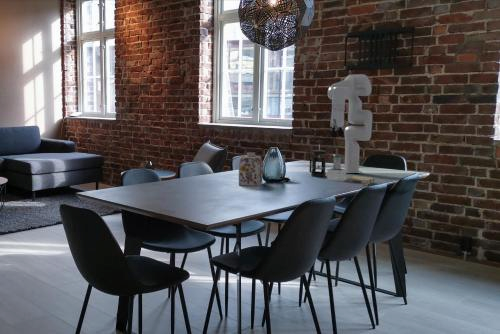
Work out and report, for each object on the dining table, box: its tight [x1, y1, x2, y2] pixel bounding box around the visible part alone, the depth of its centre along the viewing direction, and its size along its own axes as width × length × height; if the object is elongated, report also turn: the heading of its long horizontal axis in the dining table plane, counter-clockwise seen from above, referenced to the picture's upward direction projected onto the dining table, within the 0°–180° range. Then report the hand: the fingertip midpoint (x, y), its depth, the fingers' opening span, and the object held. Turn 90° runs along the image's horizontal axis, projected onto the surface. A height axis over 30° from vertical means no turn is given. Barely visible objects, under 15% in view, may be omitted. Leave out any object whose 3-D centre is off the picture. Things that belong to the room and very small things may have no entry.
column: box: [332, 154, 343, 170], centre depth 305 cm, size 5×5×15 cm
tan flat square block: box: [346, 175, 375, 185], centre depth 298 cm, size 12×12×3 cm
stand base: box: [323, 167, 347, 182], centre depth 305 cm, size 12×12×7 cm
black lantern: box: [309, 140, 327, 178], centre depth 317 cm, size 12×9×23 cm
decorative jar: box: [238, 152, 264, 187], centre depth 286 cm, size 12×12×18 cm
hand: (337, 137), depth 302 cm, fingers open, 9 cm apart
